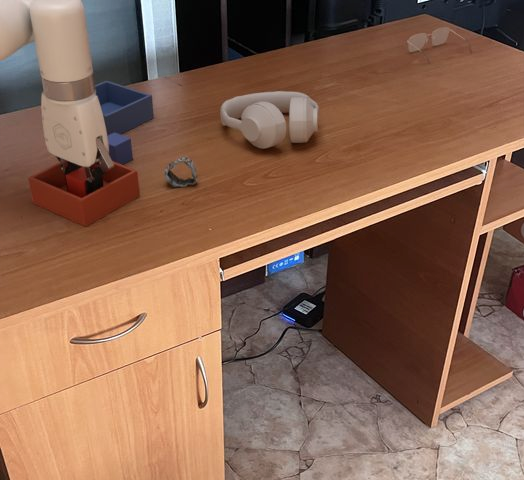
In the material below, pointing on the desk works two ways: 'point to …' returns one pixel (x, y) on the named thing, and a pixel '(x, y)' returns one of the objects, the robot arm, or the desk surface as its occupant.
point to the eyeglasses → (436, 39)
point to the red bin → (91, 206)
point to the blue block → (120, 148)
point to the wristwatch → (178, 181)
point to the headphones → (271, 117)
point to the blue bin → (123, 107)
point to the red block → (77, 182)
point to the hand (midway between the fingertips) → (86, 194)
